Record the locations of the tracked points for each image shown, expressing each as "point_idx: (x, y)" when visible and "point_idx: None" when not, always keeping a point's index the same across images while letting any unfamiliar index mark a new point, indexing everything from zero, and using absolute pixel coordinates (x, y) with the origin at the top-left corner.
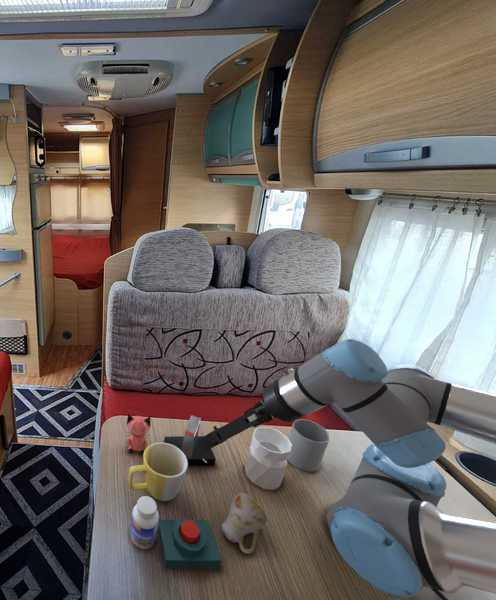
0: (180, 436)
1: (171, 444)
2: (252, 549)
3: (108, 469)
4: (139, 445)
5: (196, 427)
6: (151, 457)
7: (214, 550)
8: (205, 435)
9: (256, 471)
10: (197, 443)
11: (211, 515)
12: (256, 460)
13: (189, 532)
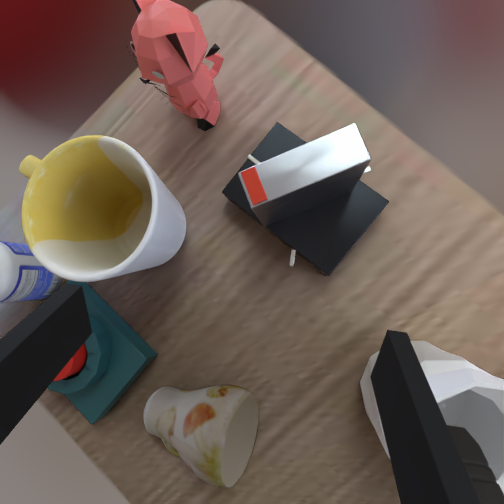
0: None
1: (267, 156)
2: (178, 456)
3: (107, 111)
4: (177, 104)
5: (306, 181)
6: (117, 164)
7: (97, 404)
8: (22, 321)
9: (371, 398)
10: (337, 203)
11: (189, 347)
12: None
13: None
